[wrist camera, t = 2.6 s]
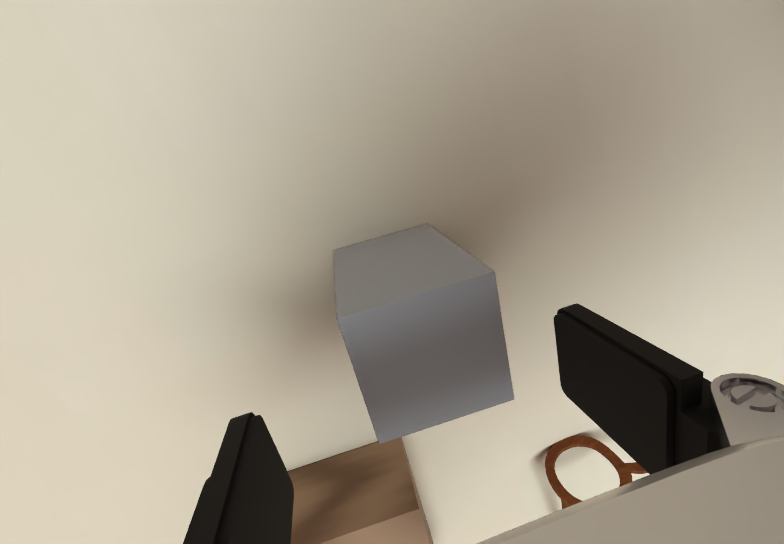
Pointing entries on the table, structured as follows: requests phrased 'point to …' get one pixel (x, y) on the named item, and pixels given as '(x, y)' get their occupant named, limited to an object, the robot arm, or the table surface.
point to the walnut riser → (359, 499)
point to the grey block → (420, 330)
